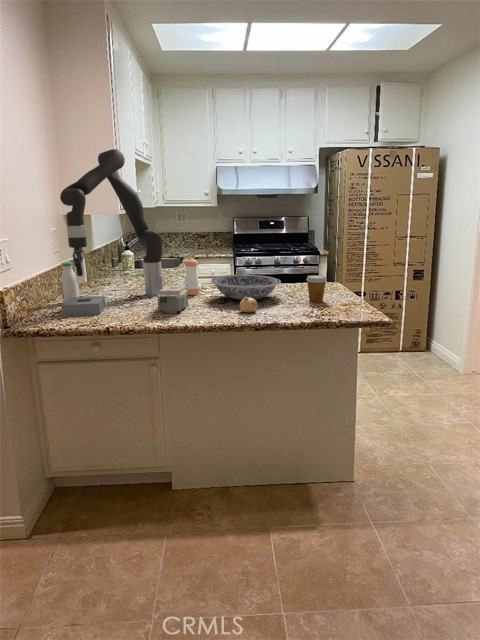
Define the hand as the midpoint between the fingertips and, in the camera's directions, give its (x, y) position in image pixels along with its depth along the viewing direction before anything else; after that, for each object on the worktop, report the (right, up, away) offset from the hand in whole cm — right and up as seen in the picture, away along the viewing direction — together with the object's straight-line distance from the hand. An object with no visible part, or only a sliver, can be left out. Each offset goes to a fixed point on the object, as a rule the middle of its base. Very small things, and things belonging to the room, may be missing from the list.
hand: (81, 274), depth 204 cm
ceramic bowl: (+74, -10, +24) cm, 79 cm away
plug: (0, -3, +1) cm, 3 cm away
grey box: (+41, -15, +6) cm, 44 cm away
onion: (+75, -17, -3) cm, 77 cm away
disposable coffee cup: (+108, -11, +15) cm, 109 cm away
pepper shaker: (+46, -7, +37) cm, 59 cm away
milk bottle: (-12, -12, +22) cm, 28 cm away
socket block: (0, -16, +4) cm, 17 cm away
